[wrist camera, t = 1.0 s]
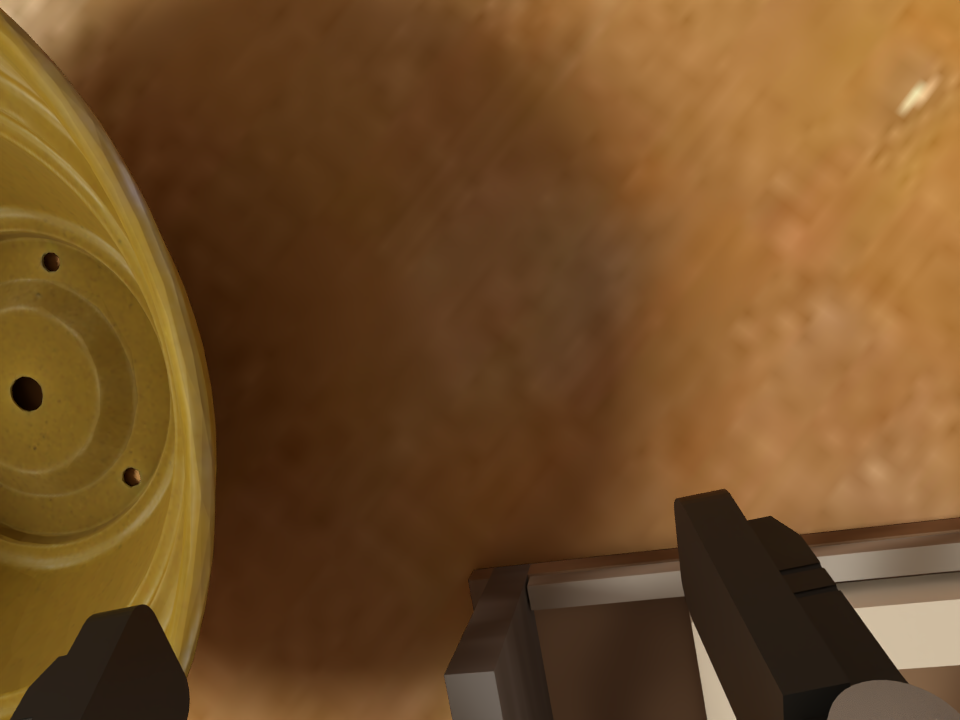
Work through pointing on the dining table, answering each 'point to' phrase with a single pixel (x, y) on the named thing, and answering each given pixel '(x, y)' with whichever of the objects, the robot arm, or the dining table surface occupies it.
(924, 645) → the carriage
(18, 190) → the planter bowl
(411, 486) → the dining table surface
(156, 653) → the robot arm
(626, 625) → the rail base
